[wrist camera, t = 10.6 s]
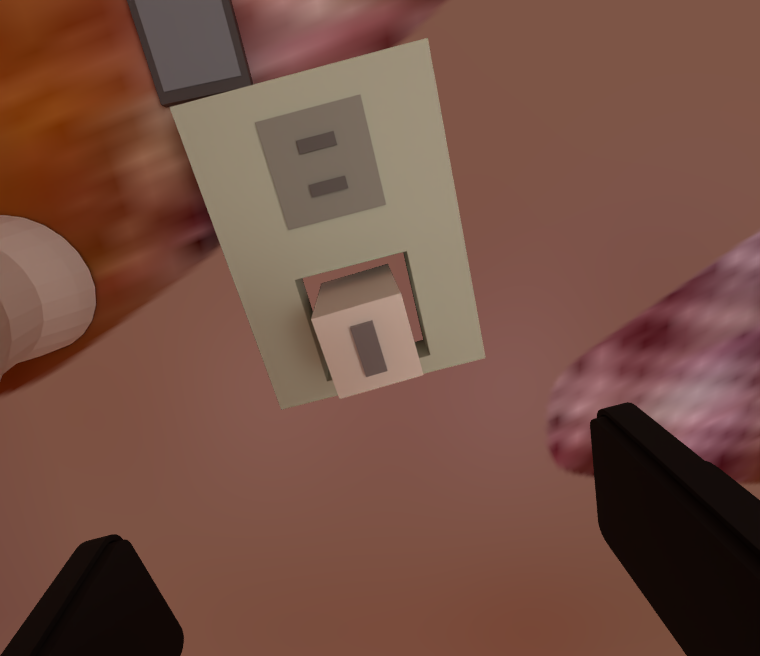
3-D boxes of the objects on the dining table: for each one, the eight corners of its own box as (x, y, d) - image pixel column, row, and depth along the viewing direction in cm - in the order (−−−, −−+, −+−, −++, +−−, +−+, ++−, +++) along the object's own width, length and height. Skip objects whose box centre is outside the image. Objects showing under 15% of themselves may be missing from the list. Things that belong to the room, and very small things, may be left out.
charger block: (321, 283, 25) (310, 321, 18) (387, 263, 25) (401, 294, 18) (342, 345, 26) (339, 401, 19) (405, 326, 26) (424, 377, 19)
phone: (109, -83, 20) (93, -101, 18) (206, -104, 20) (196, -123, 18) (170, 109, 22) (160, 104, 21) (256, 90, 22) (251, 85, 21)
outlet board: (189, 115, 22) (166, 105, 19) (419, 53, 22) (428, 35, 19) (287, 389, 27) (280, 412, 24) (473, 342, 27) (487, 360, 24)
